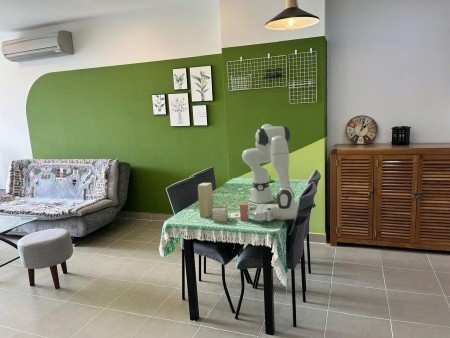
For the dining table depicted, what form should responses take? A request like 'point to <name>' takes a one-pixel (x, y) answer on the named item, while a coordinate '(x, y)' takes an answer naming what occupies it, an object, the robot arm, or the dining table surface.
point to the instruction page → (235, 215)
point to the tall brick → (244, 211)
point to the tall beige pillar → (205, 199)
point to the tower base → (220, 218)
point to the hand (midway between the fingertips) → (248, 210)
